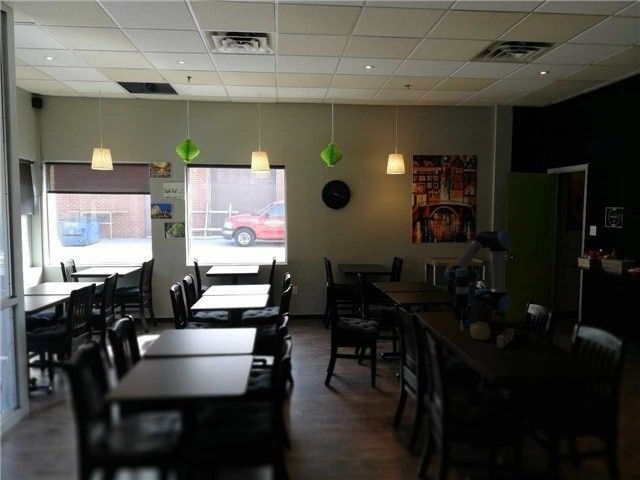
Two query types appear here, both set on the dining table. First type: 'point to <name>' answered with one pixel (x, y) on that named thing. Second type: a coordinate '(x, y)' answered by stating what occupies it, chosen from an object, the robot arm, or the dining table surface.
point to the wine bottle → (472, 302)
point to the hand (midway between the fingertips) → (462, 330)
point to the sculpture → (480, 330)
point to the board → (505, 338)
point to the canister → (483, 313)
